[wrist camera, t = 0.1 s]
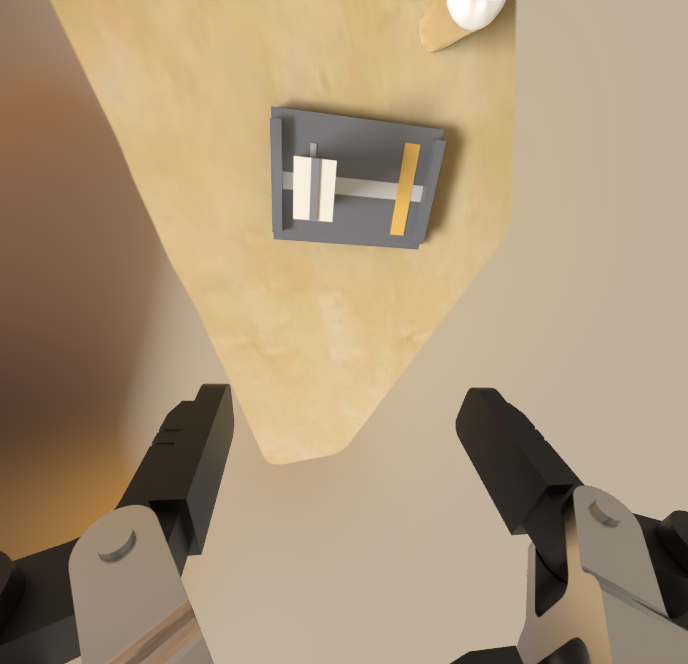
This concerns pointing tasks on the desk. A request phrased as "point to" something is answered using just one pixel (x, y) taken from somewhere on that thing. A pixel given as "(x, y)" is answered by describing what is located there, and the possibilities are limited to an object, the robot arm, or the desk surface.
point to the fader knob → (313, 188)
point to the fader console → (357, 177)
